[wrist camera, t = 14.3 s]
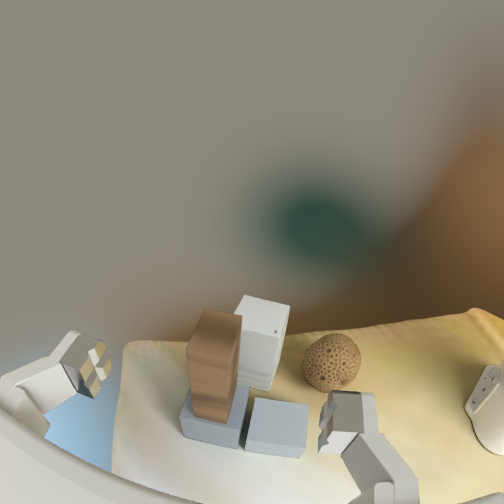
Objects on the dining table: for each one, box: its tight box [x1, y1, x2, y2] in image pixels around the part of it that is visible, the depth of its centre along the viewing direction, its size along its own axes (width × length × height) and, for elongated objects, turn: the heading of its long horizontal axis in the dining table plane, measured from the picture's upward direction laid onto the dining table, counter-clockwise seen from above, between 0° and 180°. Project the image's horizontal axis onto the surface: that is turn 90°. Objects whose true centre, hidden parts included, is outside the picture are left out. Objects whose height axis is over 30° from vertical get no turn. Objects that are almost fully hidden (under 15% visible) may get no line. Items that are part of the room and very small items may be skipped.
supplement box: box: [233, 295, 290, 392], centre depth 45 cm, size 7×7×13 cm
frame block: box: [186, 308, 242, 424], centre depth 32 cm, size 6×4×13 cm
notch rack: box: [179, 384, 309, 458], centre depth 36 cm, size 7×16×6 cm, turn 80°
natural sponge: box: [303, 333, 361, 393], centre depth 44 cm, size 9×9×10 cm
